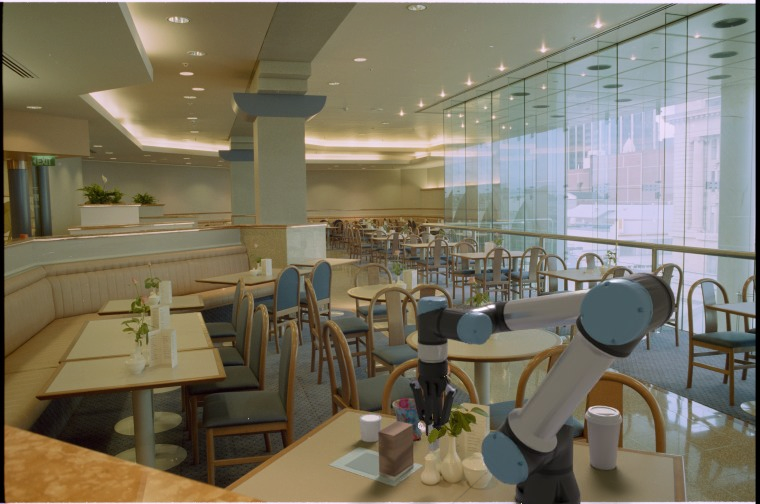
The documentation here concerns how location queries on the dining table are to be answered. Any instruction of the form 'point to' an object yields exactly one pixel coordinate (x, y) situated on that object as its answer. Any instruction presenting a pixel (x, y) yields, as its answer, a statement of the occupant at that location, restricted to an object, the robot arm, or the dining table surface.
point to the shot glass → (370, 427)
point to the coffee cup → (603, 436)
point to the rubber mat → (367, 465)
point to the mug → (408, 414)
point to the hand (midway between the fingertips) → (433, 449)
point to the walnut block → (395, 450)
